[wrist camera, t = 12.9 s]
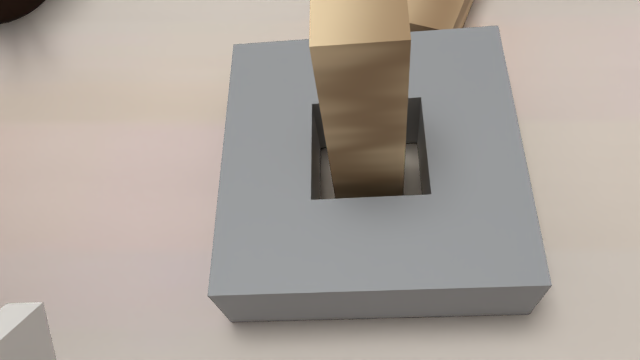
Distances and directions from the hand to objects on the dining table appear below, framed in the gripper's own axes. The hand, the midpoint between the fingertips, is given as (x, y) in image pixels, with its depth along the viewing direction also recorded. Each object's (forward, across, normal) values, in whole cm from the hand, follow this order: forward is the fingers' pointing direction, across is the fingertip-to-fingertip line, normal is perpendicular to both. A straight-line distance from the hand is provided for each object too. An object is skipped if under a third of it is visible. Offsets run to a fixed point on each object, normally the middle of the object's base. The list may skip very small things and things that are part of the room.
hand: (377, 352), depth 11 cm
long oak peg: (+15, 0, -1) cm, 15 cm away
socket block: (+15, 0, -1) cm, 15 cm away
